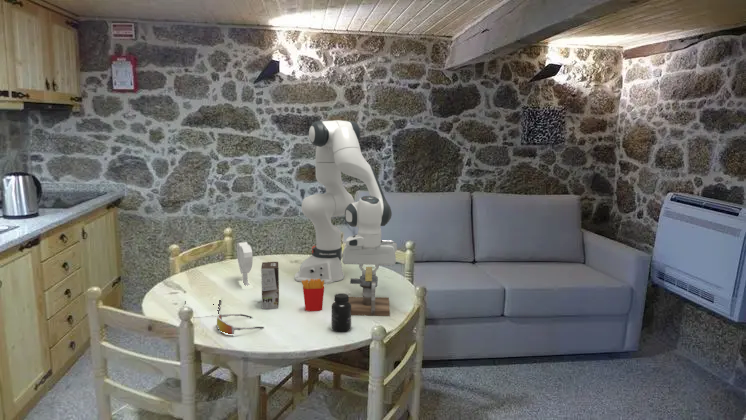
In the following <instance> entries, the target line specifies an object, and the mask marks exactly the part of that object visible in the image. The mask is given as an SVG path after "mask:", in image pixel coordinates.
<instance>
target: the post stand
mask: <svg viewBox="0 0 746 420" xmlns="http://www.w3.org/2000/svg"><path fill="white" fill-rule="evenodd" d="M376 288H377V287H376V282H372V288H363V287H362V296H349V301H348V302H349V303H350V304H351V316H364V315H366V316H369V317H371V316H372V317H373V316H374V317H377V316H378V317H391V316H390V313H391V312H390V297H384V296H383V297H380V296H379V297H378V296H377V297H376Z"/></svg>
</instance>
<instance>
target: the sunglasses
mask: <svg viewBox="0 0 746 420" xmlns="http://www.w3.org/2000/svg"><path fill="white" fill-rule="evenodd" d="M230 316H233V317H245V318H248V317H252V316H251V315H249V314H243V313H225V314H221V313H220V314H219V315H218V316H216V317H217V319H216V327H217V329H218V328H219V330H220V331H222V332H225V333H228V334H234V335H235V331H243V330H256V329H257V330H258V329H259V330H260V329H261V328H263V329H265V328H264V327H265V326H251V327H250V326H248V327H247V326H246V327H241V326H234V325H231V324H228V323H227V322H226V321H224V320H223V318H227V317H230ZM219 330H218V331H219ZM261 330H262V329H261ZM220 331H219V332H220Z"/></svg>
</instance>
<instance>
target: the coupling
mask: <svg viewBox="0 0 746 420" xmlns="http://www.w3.org/2000/svg"><path fill="white" fill-rule="evenodd" d="M365 270H366V274H365V276H362V275H360V276H359V278H354V277H353V278H352V277H351V278H349V279H350V281H349V282H350V285H351V284H353V285H357V284H358V285H359V287H361V288H362V289H363V288H372V282H376V287H375V288H377V287H378V286H379V283H378V281H379V277H378V276H377V275H376V276H375V275H374V276H372V270H373V266H365Z"/></svg>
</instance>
